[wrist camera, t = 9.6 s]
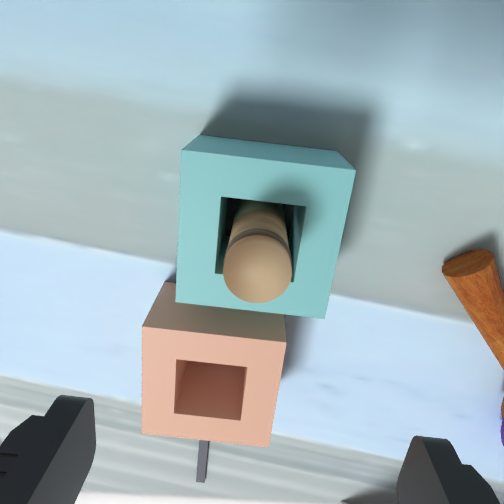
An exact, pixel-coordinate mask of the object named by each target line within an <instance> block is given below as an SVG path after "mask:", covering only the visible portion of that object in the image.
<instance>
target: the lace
mask: <svg viewBox="0 0 504 504" xmlns="http://www.w3.org/2000/svg"><path fill="white" fill-rule="evenodd" d="M207 452H208V441H205V440H199V452H198V465H197V478H196V482H202V483H205V474H206V463H207Z"/></svg>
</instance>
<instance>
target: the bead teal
mask: <svg viewBox="0 0 504 504" xmlns="http://www.w3.org/2000/svg"><path fill="white" fill-rule="evenodd" d="M355 173H356V170H355V169H354V168H353V167H352V166H351V165H350V164H349V163H348V162H347V161H346V160H345V159H344V158H343V157H342V155H341V154H340V153H339V152H338V151H332V150H323V149H315V148H306V147H298V146H289V145H281V144H272V143H264V142H255V141H247V140H238V139H230V138H221V137H213V136H204V135H199V136H197V137H196V138H195V139H194V140H193V141H191V142H190V143H189V144H188V145H187V146H185V147H184V148H183V149H182V150H181V173H180V198H179V223H178V249H177V274H176V299H175V302H178V303H187V304H196V305H205V306H214V307H223V308H232V309H241V310H250V311H259V312H268V313H277V314H286V315H295V316H304V317H312V318H321V319H325V314H326V309H327V305H328V300H329V295H330V291H331V286H332V281H333V277H334V272H335V267H336V263H337V258H338V253H339V248H340V244H341V239H342V234H343V230H344V225H345V220H346V216H347V211H348V206H349V201H350V197H351V192H352V187H353V183H354V178H355ZM228 197H230V198H238V199H247V200H256V201H264V202H273V203H282V204H290V205H294V211H293V218H292V224H291V230H290V237H289V243H288V246H289V250H290V254H291V261H292V277H291V281H290V284H289V286H288V288H287V289H286V290H285V292H284V293H283V294H282V295H280V296H279V297H278V298H276V299H274V300H272V301H269V302H265V303H250V302H246V301H244V300H241V299H239V298H238V297H236V296H235V295H234V294H233V293H232V292H231V291H230V290H229V289H228V287H227V286H226V283H225V281H224V277H223V267H224V258H225V253H226V250H227V247H228V244H229V240H230V237H226V236H225V225H226V214H227V203H228Z"/></svg>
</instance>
